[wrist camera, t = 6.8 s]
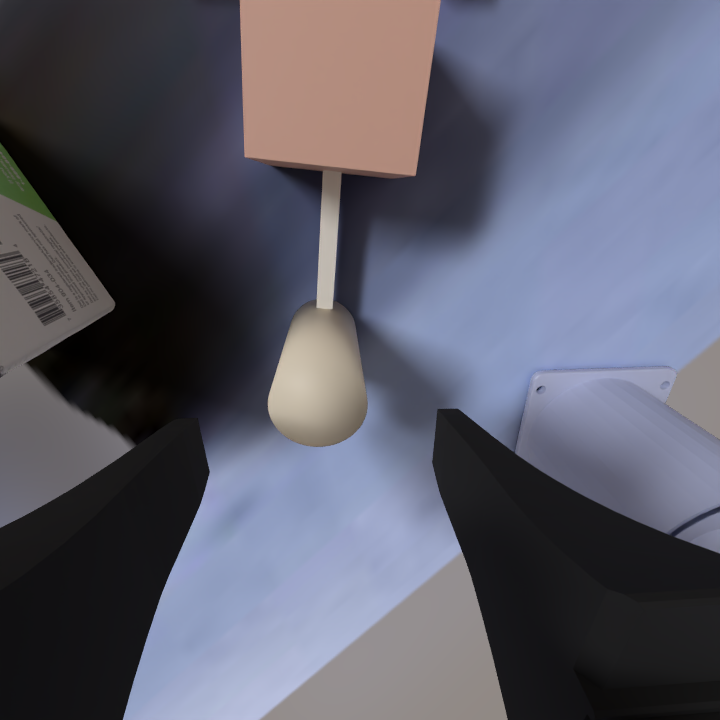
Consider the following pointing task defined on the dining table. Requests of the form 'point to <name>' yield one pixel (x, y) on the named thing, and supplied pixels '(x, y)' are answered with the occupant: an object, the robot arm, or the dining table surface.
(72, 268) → the ink box
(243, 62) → the pink handled block
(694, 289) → the dining table surface
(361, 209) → the dining table surface
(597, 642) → the robot arm
